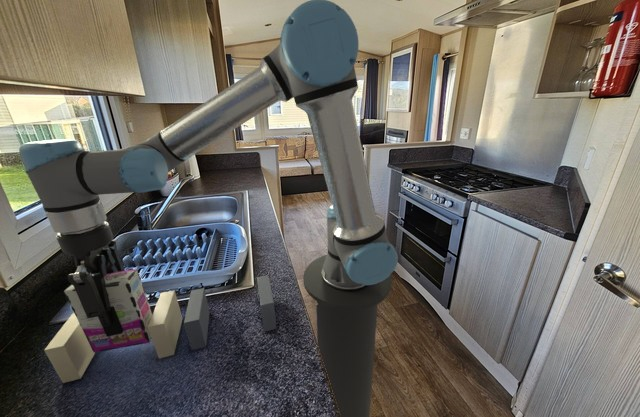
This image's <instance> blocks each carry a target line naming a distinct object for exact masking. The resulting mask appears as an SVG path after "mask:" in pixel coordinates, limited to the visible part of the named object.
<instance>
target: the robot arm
mask: <svg viewBox="0 0 640 417" xmlns="http://www.w3.org/2000/svg"><path fill="white" fill-rule="evenodd" d="M279 40H280V42H279V44H278V45H277V46H276V47H275V48H274V49H273V50H272V51H270V53H268V54H267V55H265V56H264V57H262V58H260V62H259V66H258V67H257V68H255V69H254V70H253V71H251V72H249V73H248V74H247V75H244V76H243V77H241V78H240V79H239V80H237V81H236V82H234V83H232V84H231V85H229V86H228V87H226V88H225V89H223V90H221V91H220V92H219V93H217V94H215V95H214V96H213V97H211V98H210V99H208V100H207V101H205V102H203V103H202V104H200V105H199V106H197V107H195V108H194V109H193V110H191V111H190V112H188V113H186V114H185V115H182V117H181V118H179V119H177V120H176V121H174V122H173V123H171V124H170V125H168V126H166V127H165V128H163V129H162V130H160V131H159V132H157V133H155V134H153V135H152V136H151V137H149V138H148V139H147V140H146V139H145V140H144V141H142V142H140V143H137V144H133V145H130V146H127V147H123V148H119V149H109V150H95V151H93V150H90V151H89V150H84V147H83V146H82V144H81V143H80V142H79V141H78V140H77V139H73V138H71V139H69V138H62V139H61V138H60V139H45V140H36V141H30V142H29V141H28V142H25V143H23V144H21V145H20V147H19V149H18V151H19V155H20V158H21V160H22V163H23V166H24V169H25V170H24V172H25V174H26V175H27V177H28V179H29V180H30V182H31V185H32V186H33V188H34V191H35V192H36V195H37V196H38V198H39V200H40V202H41V205H42V208H43V210H44V212H45V217H46V218H48V222H49V224H50V226H51V229H52V230H53V232H55V233H56V234H55V238H56V240H57V243H58V245H59V247H60V249H61V251H62V253H64V254H67V255H70V256H72V257H73V258H74V265H75V267H76V270H75V272H74V273H69V274H68V275H67V280H68V282H69V283H70V285H71V284H72V285H73V286H74V288H75V290H76V293H77V295H78V297H79V300H80V302H81V304H82V307H83V309H84V311H85V314H86V316H87V318H93V317H98V318H99V320H100V323H101V325H102V327H103V329H104V332H105V334H106V336H107V337H108V336H113V335H117V334H122V333H123V328H122V326H121V323H120V321H119V318H118V316H117V313H116V311H115V308H114V306H112V307H110V302H109V297H108V293H107V290H106V288H105V284H106V283H105V278H104V277H105V276H106V275H107V273H113V272H120V271H126V270H125V267H124V264H123V262H122V259H121V256H120V254H119V251H118V246H117V241H116V240H115V239H114V234H113V232H112V229H111V226H110V224H109V222H108V221H107V220H108V217H107V214H106V212H105V209H104V206H103V204H102V201H101V198H100V195H116V194H117V195H118V194H133V193H141V194H143V193H147V192H153V191H160V190H163V189H164V188H165V187H166V186H167V181H168V179H169V173H170V172H171V171H173V170H174V169H175V168H177V167H178V166H180V165H181V164H183V163H184V162H185V161H186V160H188V159H190V158H191V157H193V156H195V155H196V154H198V153H200V152H201V151H203V150H204V149H205V148H207V147H209V146H210V145H212V144H213V143H215V142H216V141H218V140H220V139H222V138H223V137H225V136H226V135H227V134H229V133H231V132H233V131H234V130H235V129H237V128H238V127H240V126H242V125H243V124H245V123H247V122H248V121H249V120H251V119H252V118H254V117H256V116H258V115H259V114H261V113H262V112H264V111H266V110H267V109H269V108H270V107H272V106H273V105H275V104H276V103H278V102H284V103H287V102H288V101H290V100H292V99H293V100H294V103H295V106H296V107H297V108H298V109H300V110H302V111H304V112H305V113H306V116H307V118H308V122H309V126H310V129H311V134H312V136H313V140H314V145H315V147H316V152H317V155H318V158H319V162H320V165H321V170H322V173H323V176H324V180H325V183H326V187H327V191H328V195H329V198H330V202H331V205H330V206H329V207H328V208H327V213H326V232H327V233H326V234H327V254H326V255H327V257H326V259H325V262H324V265H323V268H322V272H321V273H322V278H323V280H324V282H325V283H326V284H327V285H328V286H330V287H332V288H334V289H336V290H340V291H349V292H350V291H358V290H361V289H363V288H365V287H367V286H368V285H373V284H377V283H379V282H381V281H383V280H385V279H386V278H387V277H389V276H390V274H391V275H392V273H394V271H395V269H396V268H397V265H398V263H399V262H398V261H399V257H398V256H399V255H398V252H397V250H396V248H395V246H394V245H393V244H392V243H390V241H389V238H388V234H387V229H386V224H385V219H384V218H383V216H382V215H381V214H379V213H377V212H376V210H375V205H374V200H373V196H372V195H373V194H372V191H371V187H370V186H371V185H370V181H369V177H368V171H367V167H366V162H365V161H366V160H365V156H364V153H363V152H364V151H363V148H362V147H363V146H362V142H361V137H360V132H359V128H358V123H357V117H356V112H355V108H354V103H353V98H354V96H355V94H356V93H357V91H358V90H359V85H358V79H357V74H356V70H355V64H356V62H357V58H358V53H359V36H358V30H357V28H356V25H355V23H354V21H353V19H352V17H351V16H350V15H349V14H348V12H347V11H346V10H345V9H344V8H342V7H341V6H339V5H338V4H336V3H335V2H333V1H330V0H307V1H305V2H303V3H301V4H300V5H298V6H297V7H296V8H294V10H293V11H292V12H291V13H290V15H289V16H288V17H287V18H286V20H285V22H284V23H283V26H282V29H281V33H280V39H279Z"/></svg>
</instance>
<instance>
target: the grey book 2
mask: <svg viewBox="0 0 640 417" xmlns="http://www.w3.org/2000/svg"><path fill="white" fill-rule="evenodd" d="M256 282H257V290H258V296H259V303H260V304H259V305H260V311H261V318H262V324H263V325H262V326H263V332H269V331H272V330H277V329H278V328H277V327H278V326H277V319H276V318H277V316H276V310H275V301H274V297H273V292H272V287H271V283H270V276H269V275H268V274H267V275H262V276H257V277H256Z"/></svg>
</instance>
